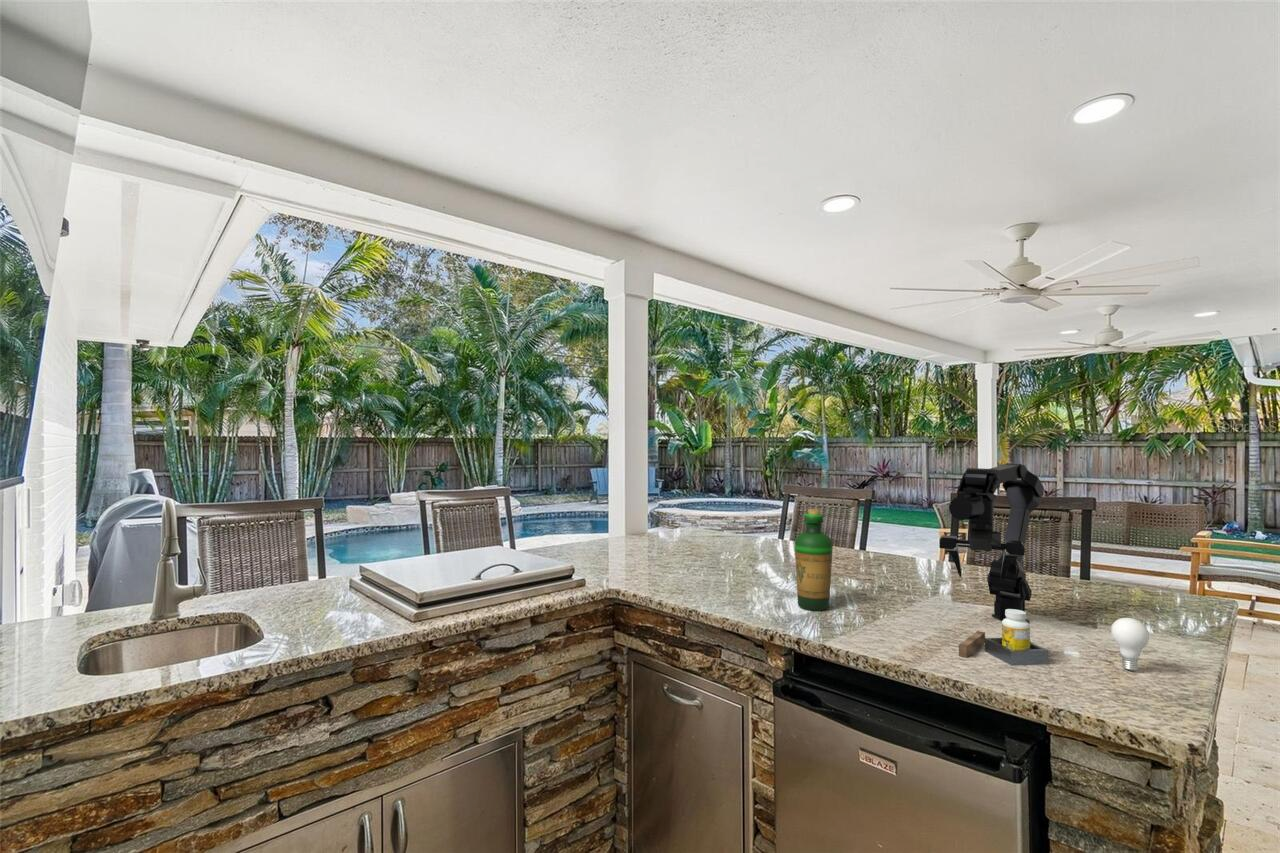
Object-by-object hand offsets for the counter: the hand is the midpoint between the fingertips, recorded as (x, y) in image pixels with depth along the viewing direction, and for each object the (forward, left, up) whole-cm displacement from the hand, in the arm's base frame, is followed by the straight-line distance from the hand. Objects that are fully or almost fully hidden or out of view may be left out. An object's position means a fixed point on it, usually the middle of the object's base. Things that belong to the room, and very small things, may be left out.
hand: (980, 578), depth 155 cm
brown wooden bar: (+11, +13, -13) cm, 22 cm away
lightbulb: (-14, +28, -13) cm, 34 cm away
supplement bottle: (+5, +19, -13) cm, 23 cm away
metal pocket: (+5, +19, -13) cm, 24 cm away
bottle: (+35, -23, -13) cm, 44 cm away
